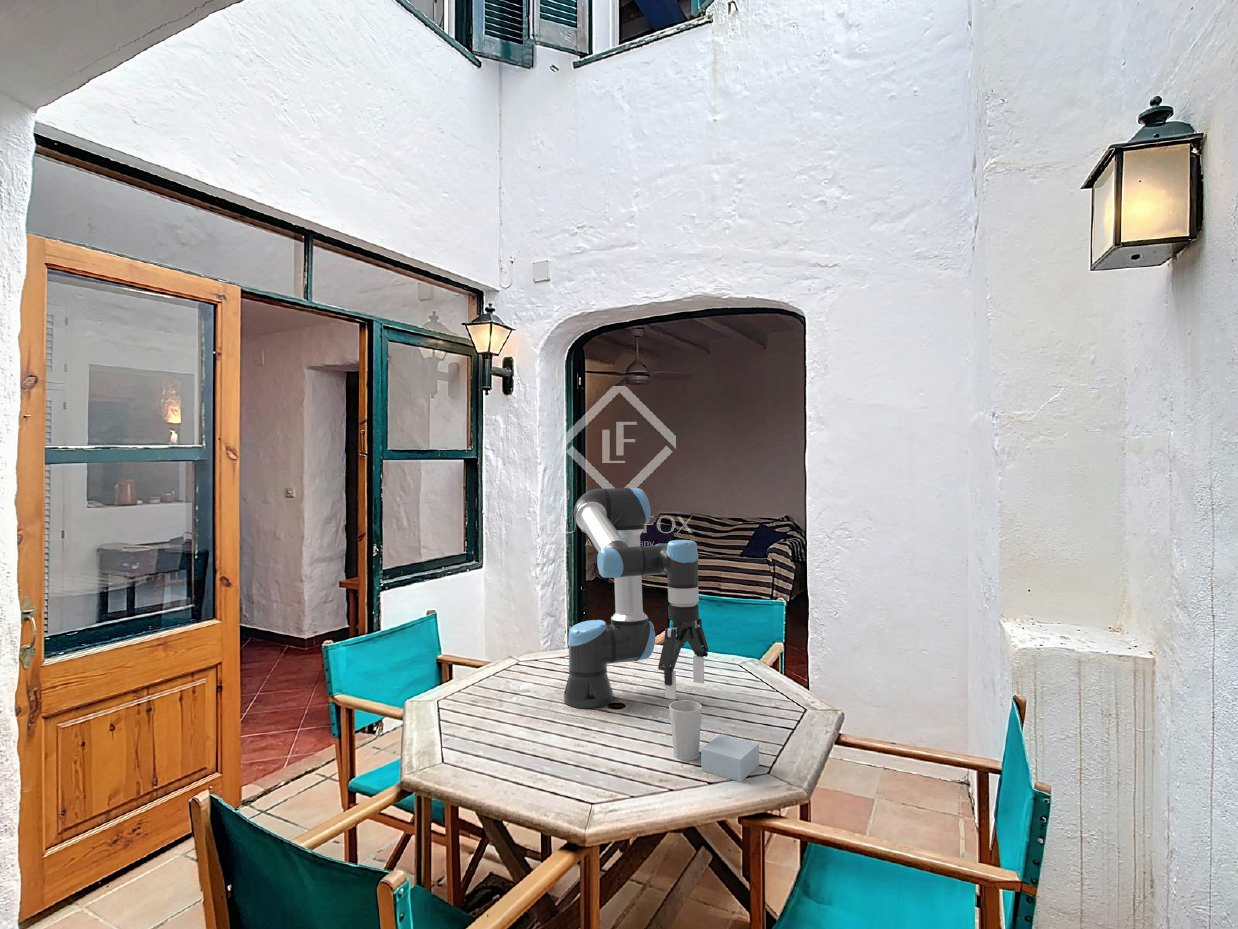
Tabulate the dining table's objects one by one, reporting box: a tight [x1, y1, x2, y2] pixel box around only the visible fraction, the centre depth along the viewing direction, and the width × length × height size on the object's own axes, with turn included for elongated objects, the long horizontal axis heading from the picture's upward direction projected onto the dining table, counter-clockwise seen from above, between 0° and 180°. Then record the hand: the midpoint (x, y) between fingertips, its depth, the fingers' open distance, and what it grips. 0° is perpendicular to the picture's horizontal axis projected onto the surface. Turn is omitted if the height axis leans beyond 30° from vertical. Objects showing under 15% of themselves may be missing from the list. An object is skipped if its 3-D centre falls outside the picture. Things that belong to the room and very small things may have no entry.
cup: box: [668, 699, 703, 762], centre depth 157 cm, size 8×8×12 cm
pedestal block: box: [700, 733, 760, 783], centre depth 150 cm, size 10×10×5 cm
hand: (685, 690), depth 157 cm, fingers open, 13 cm apart
